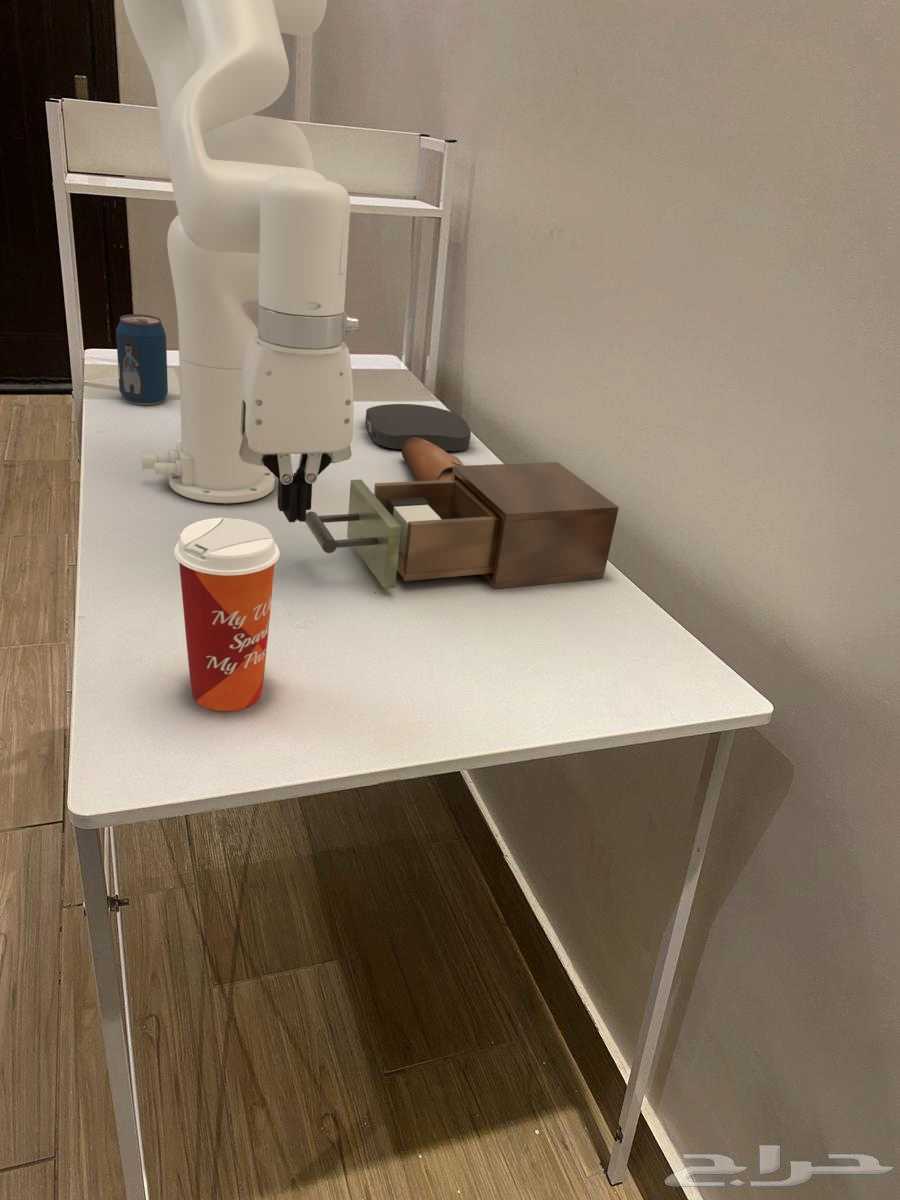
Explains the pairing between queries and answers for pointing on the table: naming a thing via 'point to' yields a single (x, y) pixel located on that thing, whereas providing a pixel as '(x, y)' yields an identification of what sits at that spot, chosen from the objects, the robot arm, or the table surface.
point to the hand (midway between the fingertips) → (293, 516)
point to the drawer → (416, 531)
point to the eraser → (409, 515)
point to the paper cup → (226, 608)
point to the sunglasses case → (428, 460)
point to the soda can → (142, 359)
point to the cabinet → (543, 522)
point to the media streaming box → (417, 426)
